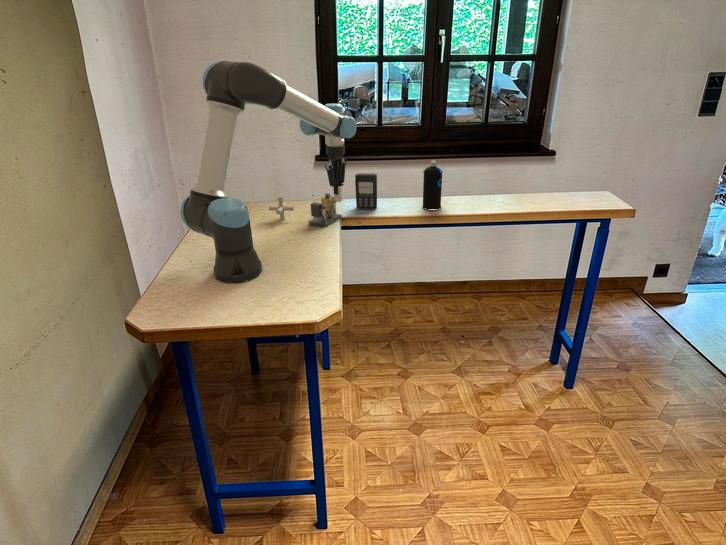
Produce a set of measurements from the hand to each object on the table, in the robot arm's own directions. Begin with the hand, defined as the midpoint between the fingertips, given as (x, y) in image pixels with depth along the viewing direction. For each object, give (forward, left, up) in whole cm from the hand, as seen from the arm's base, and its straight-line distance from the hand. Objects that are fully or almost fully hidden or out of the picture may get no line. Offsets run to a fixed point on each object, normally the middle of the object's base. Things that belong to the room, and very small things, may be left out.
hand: (338, 201), depth 201 cm
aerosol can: (+23, -33, -5) cm, 41 cm away
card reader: (+10, -8, -5) cm, 14 cm away
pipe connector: (-18, +16, -5) cm, 25 cm away
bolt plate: (-12, -1, -5) cm, 13 cm away
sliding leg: (-7, -1, -3) cm, 8 cm away
